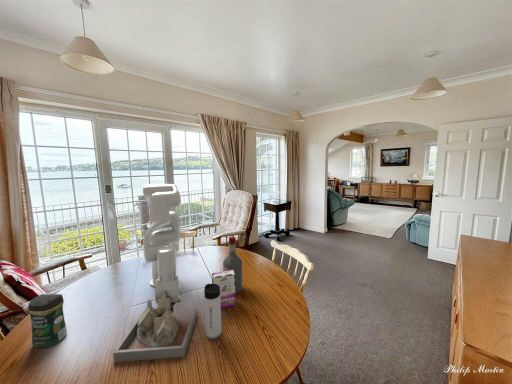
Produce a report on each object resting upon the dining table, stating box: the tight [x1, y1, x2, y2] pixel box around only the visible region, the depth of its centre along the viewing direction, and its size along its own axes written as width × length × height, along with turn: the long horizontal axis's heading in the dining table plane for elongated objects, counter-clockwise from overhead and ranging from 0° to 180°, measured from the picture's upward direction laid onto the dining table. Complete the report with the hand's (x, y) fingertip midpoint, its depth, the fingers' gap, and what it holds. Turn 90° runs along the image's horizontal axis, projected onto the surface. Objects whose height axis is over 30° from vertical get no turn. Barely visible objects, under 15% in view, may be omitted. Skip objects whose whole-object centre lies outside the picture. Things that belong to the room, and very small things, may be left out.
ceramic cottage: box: [135, 292, 179, 348], centre depth 83 cm, size 16×16×15 cm
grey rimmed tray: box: [112, 307, 198, 363], centre depth 83 cm, size 22×24×4 cm
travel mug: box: [203, 283, 222, 340], centre depth 83 cm, size 6×7×20 cm
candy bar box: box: [211, 270, 237, 309], centre depth 101 cm, size 11×5×16 cm, turn 105°
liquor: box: [222, 236, 244, 294], centre depth 114 cm, size 9×9×30 cm
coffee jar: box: [27, 293, 68, 348], centre depth 80 cm, size 10×8×19 cm
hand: (169, 314), depth 93 cm, fingers closed
